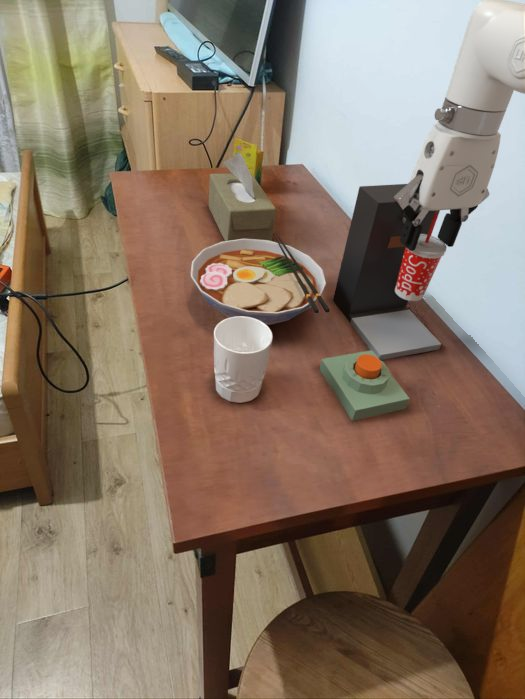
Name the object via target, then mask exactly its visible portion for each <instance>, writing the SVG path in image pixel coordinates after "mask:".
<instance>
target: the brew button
mask: <svg viewBox="0 0 525 699" xmlns="http://www.w3.org/2000/svg"><path fill="white" fill-rule="evenodd" d="M381 361H382V360H381ZM381 361H380V360H379V359H378V358H377V357H375V356H372V355H368V354H365V355H361V356H359V357H358V359H357V362H356V365H355V372H356V373H357V375H359V376H361V377H362V378H365V379H375V378H377V377H378V375H379V373H380V370H381V367H382V364H381Z"/></svg>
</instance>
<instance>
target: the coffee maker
mask: <svg viewBox="0 0 525 699" xmlns="http://www.w3.org/2000/svg"><path fill="white" fill-rule="evenodd" d="M407 184H408V183H399V184H397V183H395V184H380V185H379V184H378V185H360V186H359V187H358V192H357V195H356V200H355V204H354V208H353V213H352V217H351V221H350V225H349V230H348V232H347V233H348V234H347V239H346V242H345V246H344V251H343V255H342V260H341V264H340V268H339V272H338V277H337V281H336V283H335V289H334V294H333V297H332V302H333V303H334V305H335V306H336V307H337V309H338V310H339V312H341V314H342V315H343V317H344V318H345V319H346V321H348V323H349V324H350V326H351V327H352V328H353V329H354V331H355V332H356V333H357V335H358V336H359V337H360V338H361V340H362V341H363V342H364V343H365V345H366V346H367V347H368V350H369V351H370V350H373V352H374V353H375V354H376V356H377V357H378V358H379V359H380V360H381V361H383V360H388V359H389V360H390V359H393V358H399V357H405V356H410V355H415V354H420V353H426V352H432V351H437V350H440V349H441V346H442V343H441V342H440V341H439V340H438V339H437V337H435V335H434V334H433V333H432V332H431V331H430V330H429V329H428V328H427V327H426V326H425V325H424V323H423V322H422V321H420V319H418V317H417V316H416V315H415V314H414V313H413V312H412V311H411V310H410V309H409V307H407V305H408V302H409V300H405V299H403V298H401V297H399V296H398V295H397V294H396V292H395V287H396V283H397V279H398V275H399V271H400V267H401V263H402V259H403V256H404V252H405V248H406V247H405V246H404V245H403V244H402V243H401V242H400V238H401V234H402V231H403V227H404V224H405V221H406V218H405V217H404V216H403V213H402V212H401V210H400V209H399V207H398V205H397V204H396V202H395V201H394V196H395V195H396V194H397V193H398V192H399V191H400V190H401V189H403V188H404V187H405V186H406V185H407ZM412 200H413V198H410V199H409V204H410V203H411V201H412ZM420 208H421V206H420V205H419V206H418V208H417V209H416V211H415V213H416V214H417V212H418V211H419V209H420ZM436 211H437V212H439V213H438V216H437V219H436V222H435V225H434V228H435V226H436V223H437V220H438V217H439V215H440V211H441V210H435V211H430V210H429V211H428V213H427V214H426V216H425V217H424V219H423V220H422V222H421V223H420V225H421V226H422V231H421V234H426V235H428V232H429V229H430V226H431V223H432V220H433V218H434V215H435V212H436ZM434 228H433V230H432V233H431V235H432V234H433V232H434Z"/></svg>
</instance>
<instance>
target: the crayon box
mask: <svg viewBox="0 0 525 699" xmlns="http://www.w3.org/2000/svg"><path fill="white" fill-rule="evenodd" d="M233 140H234V141H233V151H232V157H234V156H235V155H237V154H238V153H241V154H242V156H243V158H244V160H245V163H246V166H247V167H248V169H249V172H250V173H251V174H252V175H253V176H254V178H255V179H256V181H257V182H258V184H259V185H260V187H262V186H261V185H262V175H263V163H264V155H265V153H264V151H263V150H260V149H258V148H259V147H258V145H257V144H253V143H251V142H249V141H245V140H243V139H240V138H238V137H234V139H233Z"/></svg>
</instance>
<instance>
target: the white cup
mask: <svg viewBox="0 0 525 699" xmlns="http://www.w3.org/2000/svg"><path fill="white" fill-rule="evenodd" d="M273 339H274V338H273V332H272V329H270V327H269V326H268V325H266V324H264V323H263V322H261V321H259V320H257V319H254V318H251V317H245V316H236V317H230V318H228V317H227V318H225V319H222V320H221V321H220V322H218V323H217V324H216V325H215V327H214V329H213V371H214V372H213V373H214V384H215V385H214V386H215V391H216V393H217V394H218V395H219V396H220V398H223V399H225V400H226V401H228V402H230V403H231V402H232V403H237V404H238V403H240V404H241V403H247V402H251V401H252V400H254V399H255V398H257V397H258V396H259V394H260V393H261V390H262V387H263V381H264V379H265V375H266V370H267V366H268V362H269V357H270V352H271V347H272V343H273Z"/></svg>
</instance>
